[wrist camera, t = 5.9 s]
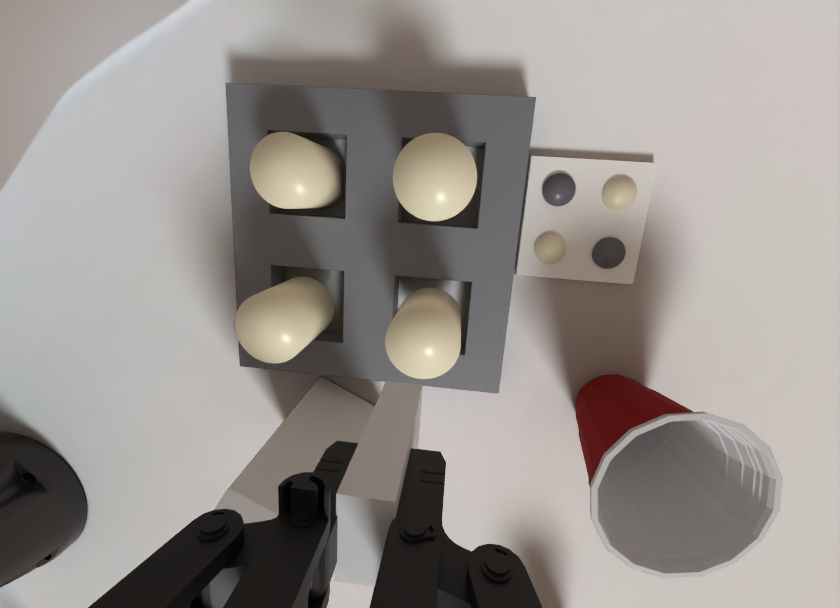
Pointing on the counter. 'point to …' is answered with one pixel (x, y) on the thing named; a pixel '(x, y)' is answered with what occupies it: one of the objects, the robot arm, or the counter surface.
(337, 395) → the milk carton
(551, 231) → the card
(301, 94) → the board
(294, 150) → the cream rounded cylinder
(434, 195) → the cream domed cylinder
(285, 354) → the cream rounded cylinder
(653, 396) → the plastic cup
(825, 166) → the counter surface
